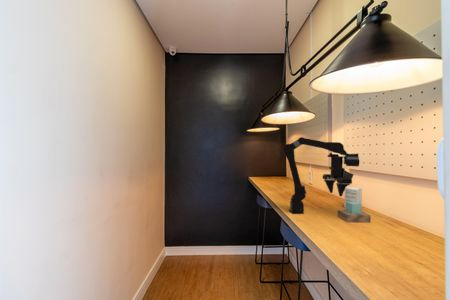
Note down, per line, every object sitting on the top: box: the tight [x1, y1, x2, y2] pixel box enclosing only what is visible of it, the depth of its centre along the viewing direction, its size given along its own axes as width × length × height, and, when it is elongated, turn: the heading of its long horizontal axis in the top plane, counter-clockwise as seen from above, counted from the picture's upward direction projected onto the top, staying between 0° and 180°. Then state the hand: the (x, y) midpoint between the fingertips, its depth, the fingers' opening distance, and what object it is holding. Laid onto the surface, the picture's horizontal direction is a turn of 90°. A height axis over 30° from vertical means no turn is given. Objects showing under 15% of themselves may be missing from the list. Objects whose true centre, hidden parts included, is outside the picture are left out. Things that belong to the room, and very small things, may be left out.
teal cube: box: [345, 202, 362, 214], centre depth 114 cm, size 5×5×5 cm
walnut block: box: [337, 209, 372, 224], centre depth 115 cm, size 11×10×4 cm
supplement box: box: [344, 186, 363, 210], centre depth 136 cm, size 7×7×13 cm
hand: (335, 194), depth 121 cm, fingers open, 9 cm apart
